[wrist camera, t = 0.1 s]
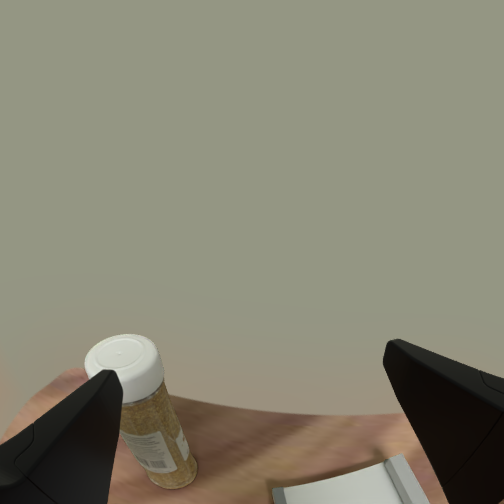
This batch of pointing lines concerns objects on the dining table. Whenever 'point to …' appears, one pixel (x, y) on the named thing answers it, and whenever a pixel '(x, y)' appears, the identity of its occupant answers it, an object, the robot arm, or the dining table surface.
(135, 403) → the sprinkles bottle
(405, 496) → the base
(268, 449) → the dining table surface
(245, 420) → the dining table surface
